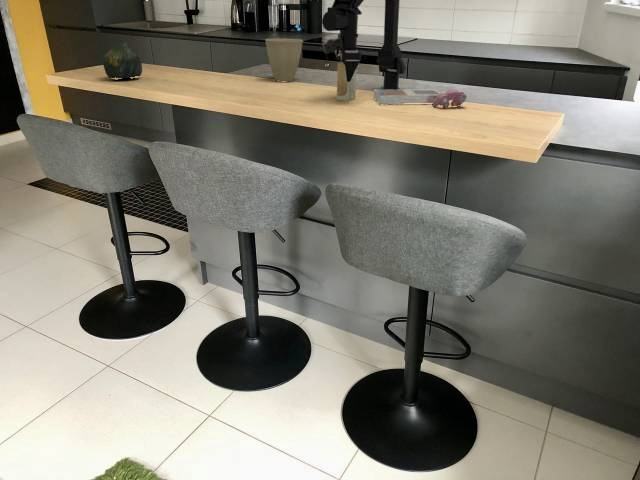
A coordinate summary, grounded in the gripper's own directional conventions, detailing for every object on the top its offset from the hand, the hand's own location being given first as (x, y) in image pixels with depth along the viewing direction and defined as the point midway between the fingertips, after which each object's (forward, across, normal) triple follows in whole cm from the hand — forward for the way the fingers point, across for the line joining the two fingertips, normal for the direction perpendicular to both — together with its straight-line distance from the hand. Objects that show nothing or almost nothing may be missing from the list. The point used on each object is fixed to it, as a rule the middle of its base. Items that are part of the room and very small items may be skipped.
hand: (346, 79), depth 174 cm
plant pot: (+7, -41, -20) cm, 46 cm away
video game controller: (+7, +14, +32) cm, 36 cm away
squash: (+7, -44, -85) cm, 96 cm away
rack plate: (+6, +4, +21) cm, 22 cm away
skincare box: (+7, 0, 0) cm, 7 cm away
